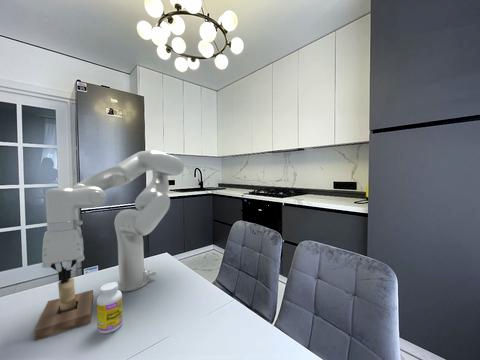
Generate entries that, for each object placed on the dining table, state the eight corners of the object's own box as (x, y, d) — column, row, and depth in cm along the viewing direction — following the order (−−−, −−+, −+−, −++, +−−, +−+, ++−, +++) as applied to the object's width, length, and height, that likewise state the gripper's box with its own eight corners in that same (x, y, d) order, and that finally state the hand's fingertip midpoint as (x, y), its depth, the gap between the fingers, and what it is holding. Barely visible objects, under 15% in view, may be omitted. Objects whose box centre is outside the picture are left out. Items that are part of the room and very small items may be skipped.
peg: (77, 310, 74) (74, 276, 74) (75, 317, 71) (73, 282, 70) (62, 314, 72) (59, 280, 71) (59, 322, 69) (56, 286, 68)
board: (93, 297, 82) (93, 289, 82) (90, 323, 68) (90, 314, 68) (48, 309, 75) (47, 301, 75) (35, 340, 61) (34, 330, 61)
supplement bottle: (105, 338, 62) (102, 294, 61) (93, 329, 66) (91, 288, 65) (127, 323, 68) (125, 283, 67) (116, 316, 71) (114, 278, 71)
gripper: (91, 220, 77) (93, 271, 78) (34, 226, 69) (37, 282, 70) (89, 225, 70) (92, 280, 71) (27, 232, 63) (30, 294, 63)
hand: (65, 281), depth 71 cm, fingers closed
